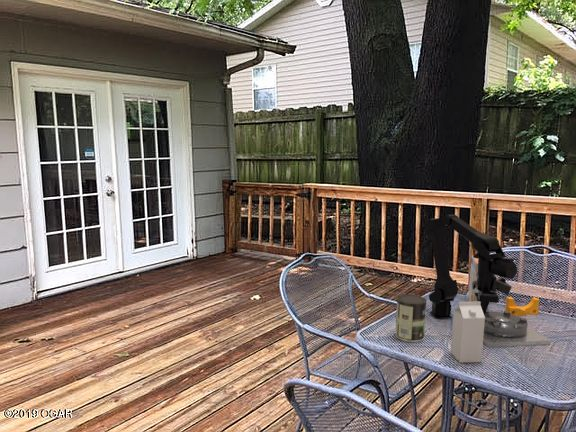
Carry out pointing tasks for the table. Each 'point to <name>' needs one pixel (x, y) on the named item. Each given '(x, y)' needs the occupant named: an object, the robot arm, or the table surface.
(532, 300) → the pipe clamp
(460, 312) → the milk carton
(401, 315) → the coffee can
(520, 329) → the crank wheel
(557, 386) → the table surface
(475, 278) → the cracker box
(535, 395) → the table surface
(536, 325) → the table surface
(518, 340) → the base plate
